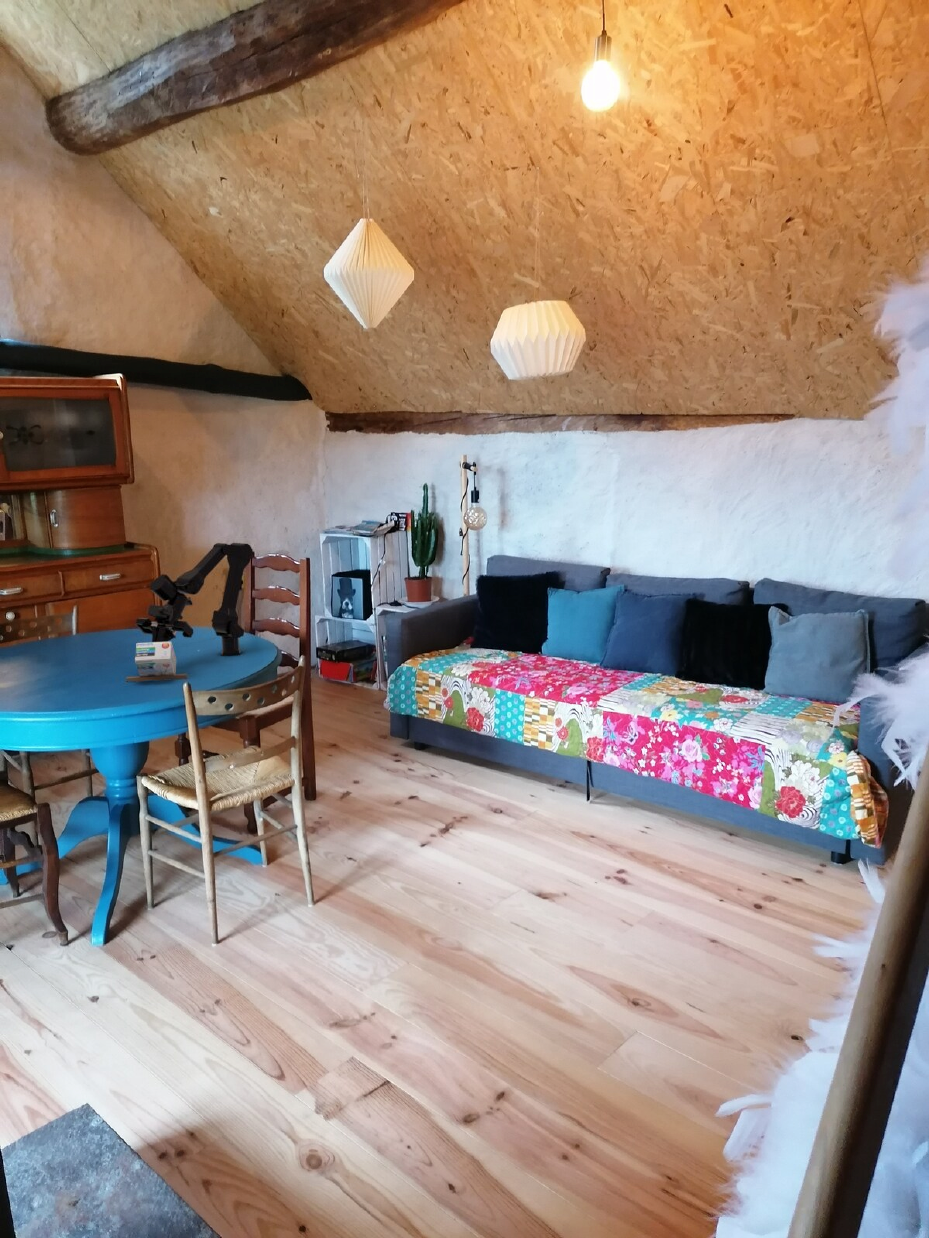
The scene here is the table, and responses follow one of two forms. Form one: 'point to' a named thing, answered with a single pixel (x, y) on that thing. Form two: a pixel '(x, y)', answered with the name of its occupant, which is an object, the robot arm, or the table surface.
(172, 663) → the light bulb box
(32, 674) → the table surface
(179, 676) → the ledge strip
